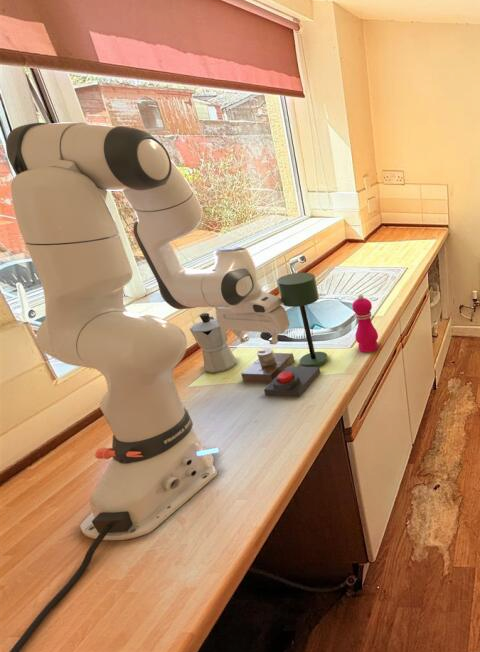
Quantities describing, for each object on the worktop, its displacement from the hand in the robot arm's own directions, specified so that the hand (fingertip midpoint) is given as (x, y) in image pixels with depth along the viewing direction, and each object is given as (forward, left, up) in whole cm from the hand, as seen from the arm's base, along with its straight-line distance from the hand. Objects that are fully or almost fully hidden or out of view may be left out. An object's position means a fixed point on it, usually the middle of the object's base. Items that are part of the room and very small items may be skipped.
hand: (259, 342), depth 120 cm
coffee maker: (+3, +17, -10) cm, 20 cm away
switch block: (-6, -12, -10) cm, 17 cm away
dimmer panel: (0, -1, -10) cm, 10 cm away
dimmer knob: (0, -1, -7) cm, 7 cm away
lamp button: (-9, -12, -7) cm, 17 cm away
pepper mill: (+16, -26, -10) cm, 32 cm away
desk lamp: (+6, -12, -10) cm, 17 cm away
